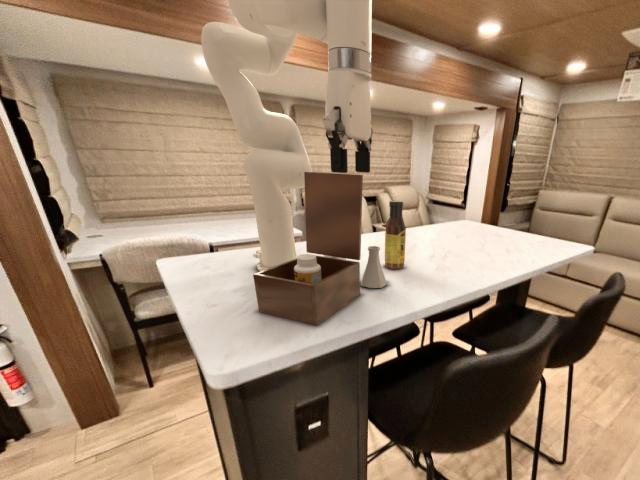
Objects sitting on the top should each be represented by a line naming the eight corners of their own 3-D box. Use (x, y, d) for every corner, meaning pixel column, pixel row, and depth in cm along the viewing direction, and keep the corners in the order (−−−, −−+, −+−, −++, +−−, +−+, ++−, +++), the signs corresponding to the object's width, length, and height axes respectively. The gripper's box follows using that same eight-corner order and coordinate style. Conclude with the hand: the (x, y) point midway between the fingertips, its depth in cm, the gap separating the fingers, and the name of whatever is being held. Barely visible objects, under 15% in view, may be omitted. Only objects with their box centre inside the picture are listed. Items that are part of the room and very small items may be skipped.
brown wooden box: (317, 325, 60) (314, 286, 57) (258, 311, 65) (252, 274, 62) (360, 294, 75) (359, 262, 72) (310, 285, 80) (307, 254, 77)
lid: (361, 174, 66) (370, 176, 70) (304, 171, 70) (316, 173, 74) (358, 260, 71) (367, 257, 76) (306, 252, 76) (317, 249, 80)
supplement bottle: (292, 300, 69) (287, 256, 64) (313, 294, 73) (309, 251, 68) (306, 308, 65) (302, 261, 61) (328, 301, 69) (325, 256, 65)
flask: (383, 290, 79) (384, 252, 75) (356, 287, 80) (355, 249, 76) (389, 281, 85) (390, 245, 81) (364, 278, 86) (364, 243, 82)
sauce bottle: (404, 270, 94) (407, 202, 87) (383, 269, 94) (385, 201, 86) (404, 264, 100) (407, 200, 93) (385, 263, 100) (386, 199, 93)
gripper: (353, 80, 63) (355, 171, 70) (302, 53, 48) (310, 171, 55) (387, 79, 61) (385, 173, 68) (344, 50, 46) (347, 173, 53)
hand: (351, 172), depth 61 cm, fingers open, 9 cm apart
